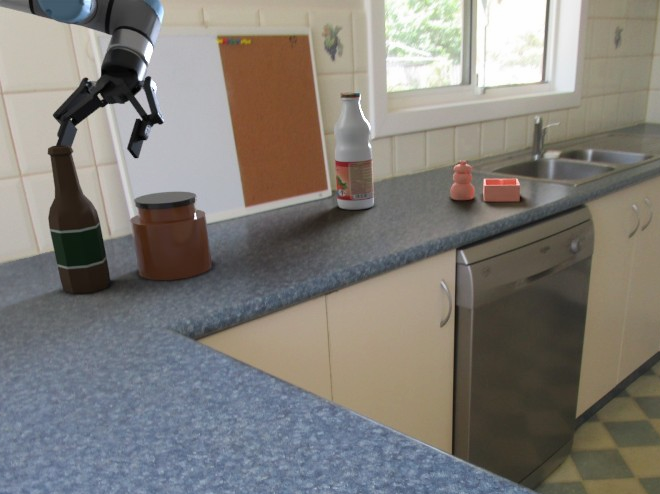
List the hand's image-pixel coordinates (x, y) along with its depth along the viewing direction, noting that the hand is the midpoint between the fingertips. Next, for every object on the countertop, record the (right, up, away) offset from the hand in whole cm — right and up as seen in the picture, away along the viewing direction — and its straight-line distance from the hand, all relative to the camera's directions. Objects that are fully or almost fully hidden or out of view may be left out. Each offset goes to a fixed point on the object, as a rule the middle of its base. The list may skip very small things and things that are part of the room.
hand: (96, 154), depth 116 cm
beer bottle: (-1, -23, -1) cm, 24 cm away
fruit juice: (+42, -2, +55) cm, 69 cm away
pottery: (+76, +2, +61) cm, 97 cm away
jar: (+11, -20, +7) cm, 24 cm away
